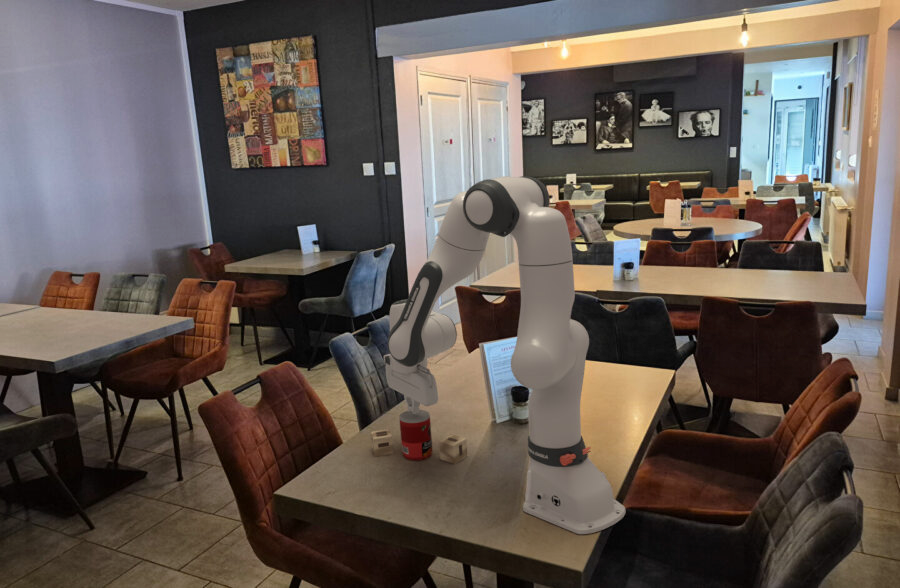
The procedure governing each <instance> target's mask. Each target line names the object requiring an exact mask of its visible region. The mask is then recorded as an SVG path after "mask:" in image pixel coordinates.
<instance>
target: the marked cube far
mask: <svg viewBox="0 0 900 588" xmlns="http://www.w3.org/2000/svg"><path fill="white" fill-rule="evenodd" d="M370 435H371V445H372V452H373V455H374V457H380V456H387V455H394V453H395V451H394V442H393V439H394V438H393V435H392V432H391V430H390V428H387V429H380V430H375V431H371V432H370Z"/></svg>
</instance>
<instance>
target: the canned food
mask: <svg viewBox="0 0 900 588" xmlns="http://www.w3.org/2000/svg"><path fill="white" fill-rule="evenodd" d="M431 427H432V425H431V414H430V412H429V411H426V410H424V409H423V410H422V409H419V413H417V414H413V413H411V412H409V411H408V410H406V411H403V412H401V413H400V415H399V430H400V439H401V440H400V441H401V449H402V450H401V451H402V452H401V453H402V455H403V457H404V458H405V459H407V460H410V461H424V460H425V459H429V458H430V457H431V456H432V455H433V441H432V440H433V439H432V428H431Z"/></svg>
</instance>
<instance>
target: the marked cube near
mask: <svg viewBox="0 0 900 588" xmlns="http://www.w3.org/2000/svg"><path fill="white" fill-rule="evenodd" d="M467 442H468V441H467V438H466V437H462V436H459V435H455V434H450V435H448V436H445V437H444V438H441V439H440V440H438V447H439V448H438V450H439V459H440V460H442V461H445V462H448V463H450V464H454V465H456V464H457V463H459V462H461V461H462V460H464V459H465V458H468V445H467Z"/></svg>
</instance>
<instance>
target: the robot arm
mask: <svg viewBox="0 0 900 588" xmlns="http://www.w3.org/2000/svg"><path fill="white" fill-rule="evenodd" d="M491 234H493V235H495V236H499V237H501V238H505V237H507V236H509V235H510V236H511V237H512V238H513V239H514V241H515V243H516V247H517V254H518V255H517V256H518V260H517V261H518V271H519V272H518V274H519V286H520V289H519V290H520V310H519V312H520V313H519V318H518V328H517V334H516V336H517V337H516V343H515V347H514V350H513V352H512V355H511V357H510V369H511V373H512V375H513V377H514V378H515V380H516V381H517V383H518V384H520V385H522V387H525V388H527V389H530V390H531V393H530V396H529V399H528V402H527V403H528V404H527V410H528V414H527V415H528V433H529V435H528V436H527V444H526V445H527V454H528V456H529V463H528V469H527V474H526V489H525V494H524V502H523V505H522V506H523V507H522V511H523V512H525V513H527V514H529V515H531V516H534V517H537V518H539V519H541V520H543V521H546V522H548V523H551V524H553V525H555V526H558V527H560V528H563V529H565V530H567V531H570V532H572V533H574V534H577V535H588V534H592V533H596V532H600V531H603V530H605V529H608V528H609V527H611V526H613V525H615V524H616V523H618V522H619V521H621V520H622V519H623V518H624V516H625V515H626V506H624V505H623V504H622V503H620V502H619V501H618V500H616V499H615V498H614V493H613V488H612V485H611V483H610V481H608V479H607V475H606V473H605V472H603V471H600V469H598V467H597V466H596V465H595V463H594V462H593V461H592V460H591V459H590V458H589V453H590V452H592V450H590V449H591V448H592V446H588V447H586V444H585V441H584V438H583V436H582V434H581V433H582V424H581V420H582V419H581V403H582V402H581V399H582V391H583V385H584V376H585V371H586V370H585V369H586V360H587V358H586V357H587V354H588V349H589V345H590V338H589V334H588V331H587V330H586V328H585V326H584V325H583V324H581V322H579V321H577V320H574V319H572V318H571V316H572V310H573V309H572V308H573V305H574V302H575V297H576V293H575V291H576V290H575V277H574V273H575V272H574V262H573V261H574V260H573V249H572V240H571V235H570V232H569V226H568V224H567V219H566V216H565V215H564V214H563V213H562V212H561V211H560V210H559V209H556V208H553V207H550V194H549V191H548V189H547V187H546V185H545V184H544V183H543V182H541V180H539V179H537V178H535V177H531V176H525V175H524V176H522V175H521V176H507V175H505V176H499V177H494V178H491V179H487V178H486V179H483V180H480V181H478V182H476V183H475V184H473V185H471V186H470V187H469V188H468V189H467V190H465V191H461V192H459V193H457V194H455V196H454V197H453V199H452V200H451V202H450V204H449V206H448V208H447V210H446V212H445V215H444V217H443V219H442V222H441V226H440V228H439V232H438V235H437V238H436V240H435V244H434V246H433V248H432V250H431V252H430V254H429V255H428V258H427V259H426V261H425V262H424V264H423V266H422V267H421V269H420V270H419V271H418V272H417V276H416V278H415V280H414V282H413V285H412V287H411V290H410V292H409V294H408V297H407V298H406V299H401V300H397V301H395V302H393V303H392V304H391V306H390V308H389V309H390V310H389V318H388V319H389V322H388V323H389V333H388V338H387V348H388V349H387V350H388V351H389V353H388V354H384V355H383V363H384V364H385V375H386V376H385V377H386V383H387V385H388V387H389V388H391V389H392V390H394V391H396V392H398V393H400V394H401V395H403V398H404V400H405V403H406V406H407V411H409V412H411V413H413V414H417V413H419V410H420V405H423V406H424V407H430V406H434V405H436V404H437V403H438V402H439V392H438V387H437V381H436V377H435V375H434V374H433V373H432V372H431V370H430V369H429V368H427V367H428V359H430V358H433V357H435V356H437V355H440V354H442V353H444V352H447V351H448V350H450V349H452V348H453V347H454V346H455V344H456V341H457V338H458V333H457V327H456V325H455V323H454V320H452V319H451V317H450V316H448V315H446V314H444V313H439V312H437V311H435V310H434V307H435V305H436V303H437V301H438V300H439V298H440V297H441V296H442V295H443V294H444V293H445V292H446V291H447V290H449V289H450V288H451V287H453V286H455V285H456V284H457V283H459V282H461V281H463V280H465V279H466V278H468V277H470V276H471V275H473V273H474V272H475V271H476V270H477V268H478V266H479V265H480V263H481V261H482V259H483V257H484V254H485V251H486V247H487V245H488V240H489V238H490V235H491Z"/></svg>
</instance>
